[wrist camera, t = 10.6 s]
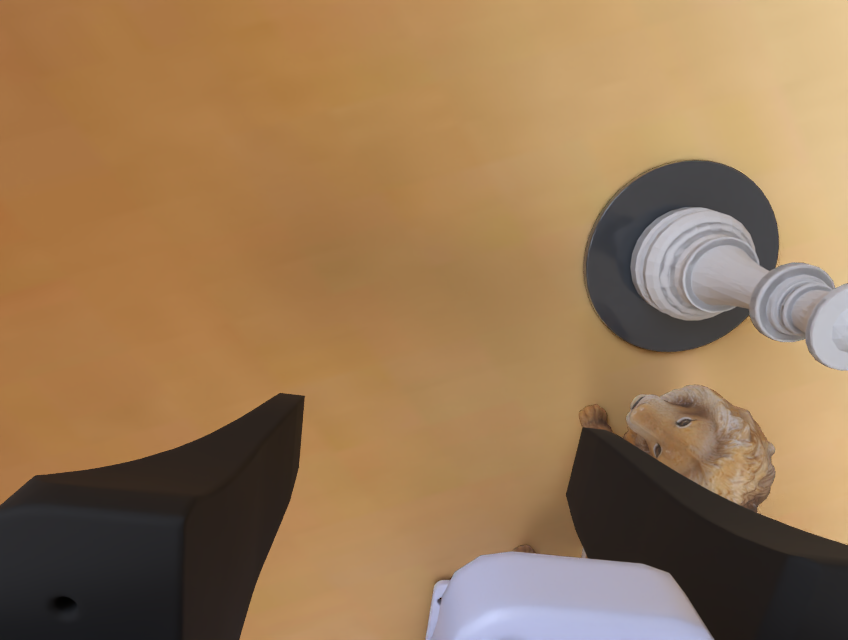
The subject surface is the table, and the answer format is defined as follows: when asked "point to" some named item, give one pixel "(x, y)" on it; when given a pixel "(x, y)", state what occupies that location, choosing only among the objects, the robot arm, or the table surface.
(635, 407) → the lion figurine
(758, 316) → the chess piece
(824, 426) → the table surface
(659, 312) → the coaster
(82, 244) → the table surface
